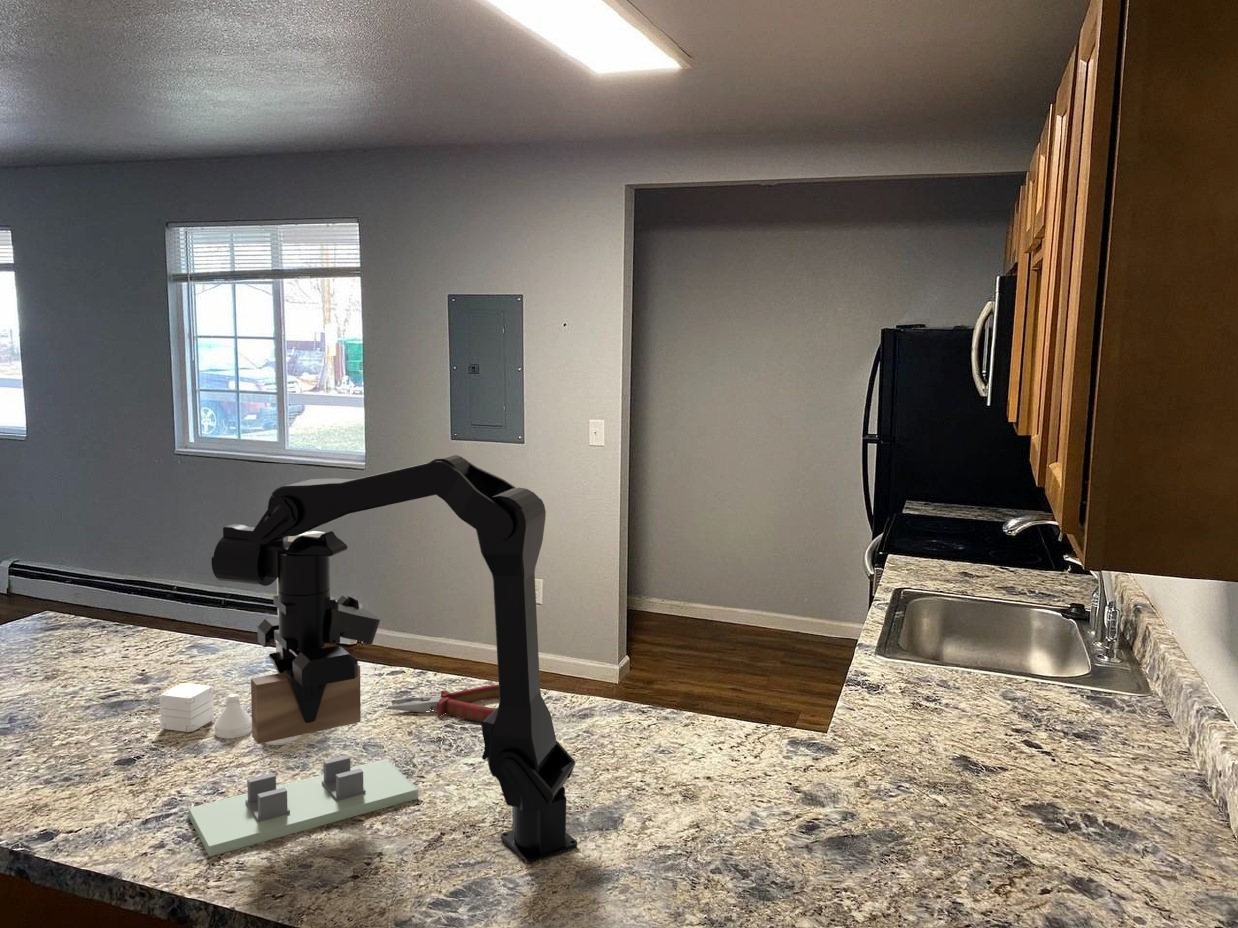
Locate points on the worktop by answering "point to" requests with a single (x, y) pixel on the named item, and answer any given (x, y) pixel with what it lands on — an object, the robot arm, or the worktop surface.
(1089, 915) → the worktop surface
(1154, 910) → the worktop surface
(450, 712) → the pliers
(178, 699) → the container set
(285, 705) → the brown wooden block
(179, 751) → the worktop surface
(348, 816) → the hinge base
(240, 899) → the worktop surface
